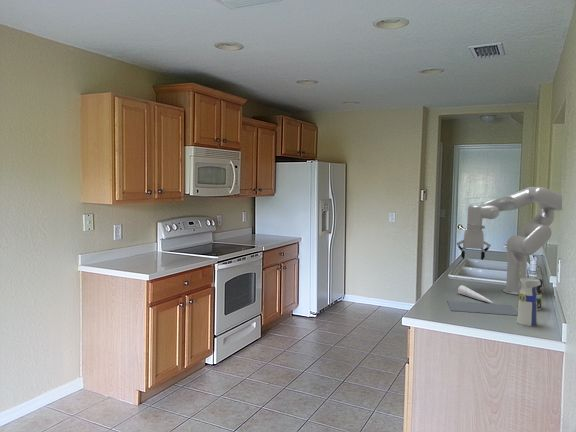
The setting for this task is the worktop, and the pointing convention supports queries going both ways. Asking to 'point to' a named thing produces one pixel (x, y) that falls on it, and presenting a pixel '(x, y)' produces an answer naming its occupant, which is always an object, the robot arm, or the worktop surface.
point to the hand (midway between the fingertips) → (472, 258)
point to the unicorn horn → (472, 294)
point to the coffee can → (538, 290)
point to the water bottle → (527, 301)
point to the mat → (482, 308)
